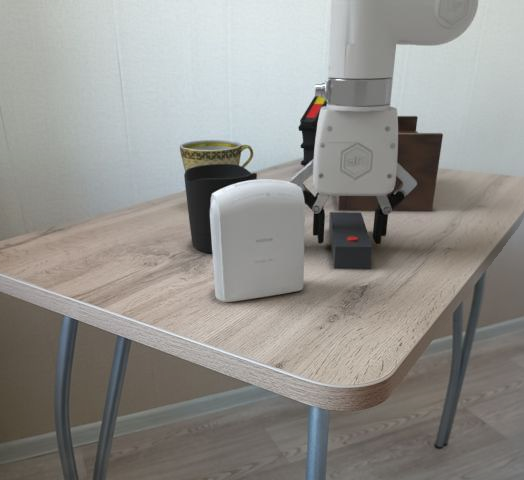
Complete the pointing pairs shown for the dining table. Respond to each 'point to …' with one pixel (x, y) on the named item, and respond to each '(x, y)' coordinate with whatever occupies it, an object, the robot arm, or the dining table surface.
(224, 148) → the ceramic cup
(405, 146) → the wooden storage bin
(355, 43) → the robot arm
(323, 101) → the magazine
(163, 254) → the dining table surface
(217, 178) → the pen holder
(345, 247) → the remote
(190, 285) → the dining table surface
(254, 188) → the photo printer
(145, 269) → the dining table surface
